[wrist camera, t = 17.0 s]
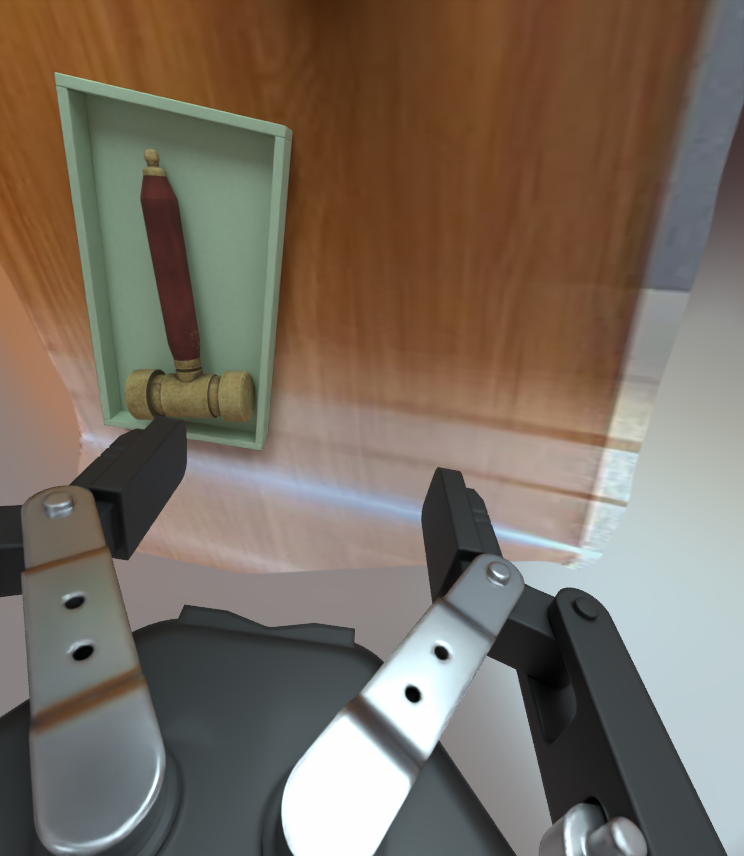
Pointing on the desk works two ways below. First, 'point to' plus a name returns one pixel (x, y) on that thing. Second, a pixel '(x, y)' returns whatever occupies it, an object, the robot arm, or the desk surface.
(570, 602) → the robot arm
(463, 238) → the desk surface
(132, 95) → the tray
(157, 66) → the desk surface
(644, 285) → the desk surface
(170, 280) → the gavel
